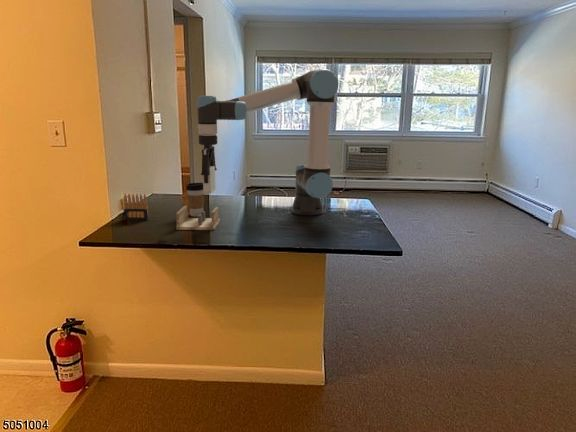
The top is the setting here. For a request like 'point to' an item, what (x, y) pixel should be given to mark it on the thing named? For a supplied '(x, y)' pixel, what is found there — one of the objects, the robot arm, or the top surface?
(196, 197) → the coffee cup
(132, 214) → the ammunition clip
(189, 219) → the wooden shelf with pegs
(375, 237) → the top surface
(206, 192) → the beige rectangular block
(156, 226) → the top surface
